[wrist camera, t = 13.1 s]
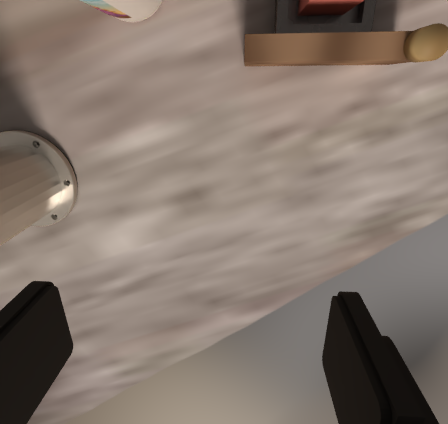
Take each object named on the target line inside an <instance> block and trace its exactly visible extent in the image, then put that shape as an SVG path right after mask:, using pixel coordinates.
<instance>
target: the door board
mask: <svg viewBox="0 0 448 424" xmlns="http://www.w3.org/2000/svg"><path fill="white" fill-rule="evenodd" d="M447 50H448V27H447V26H445V25H443V24H432V25H429V26H426V27H423V28H419V29H417V30H415V31H393V32H339V33H284V34H245V60H244V62H245V66H307V65H389V64H397V63H406V62H424V61H432V60H436V59H438V58H440V57H441V56H442V55H443V54H444V53H445V52H446V51H447Z"/></svg>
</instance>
